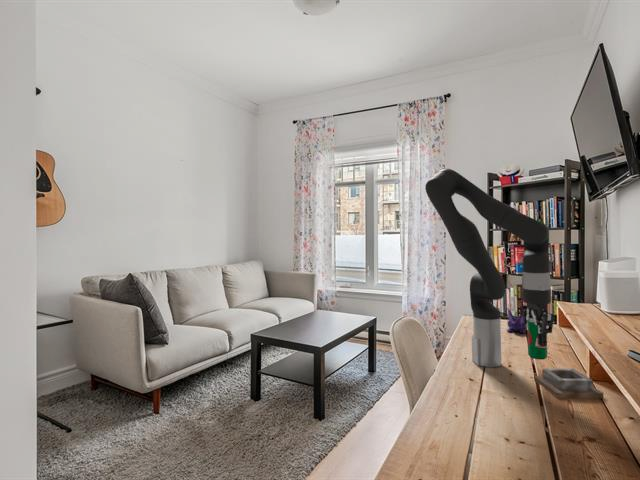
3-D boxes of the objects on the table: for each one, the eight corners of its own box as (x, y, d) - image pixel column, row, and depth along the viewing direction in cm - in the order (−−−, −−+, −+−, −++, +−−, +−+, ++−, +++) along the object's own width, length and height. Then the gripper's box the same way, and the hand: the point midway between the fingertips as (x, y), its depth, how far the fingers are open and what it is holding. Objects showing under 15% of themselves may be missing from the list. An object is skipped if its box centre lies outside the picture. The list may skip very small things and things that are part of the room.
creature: (504, 335, 174) (504, 309, 174) (508, 326, 190) (508, 302, 189) (526, 337, 169) (526, 310, 169) (528, 328, 185) (528, 303, 185)
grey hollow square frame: (556, 398, 109) (556, 382, 109) (534, 380, 122) (534, 366, 122) (603, 398, 108) (603, 382, 108) (575, 380, 121) (575, 366, 121)
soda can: (538, 361, 110) (537, 320, 110) (524, 355, 115) (523, 316, 115) (551, 358, 112) (550, 318, 111) (537, 353, 116) (536, 315, 116)
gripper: (512, 284, 120) (513, 336, 120) (536, 291, 106) (537, 350, 106) (536, 283, 120) (537, 336, 120) (563, 290, 105) (564, 350, 106)
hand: (537, 342), depth 113 cm, fingers closed on soda can, 5 cm apart
